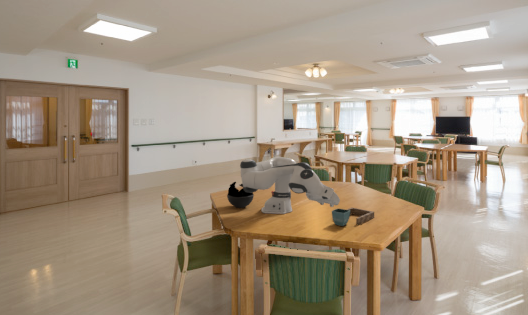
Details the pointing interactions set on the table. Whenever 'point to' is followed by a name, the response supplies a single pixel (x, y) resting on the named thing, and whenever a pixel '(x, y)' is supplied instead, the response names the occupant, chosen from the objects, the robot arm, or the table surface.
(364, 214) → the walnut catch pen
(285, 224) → the table surface
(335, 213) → the flower pot
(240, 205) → the bowl of black rocks
